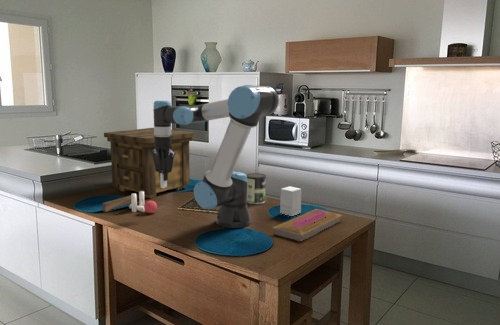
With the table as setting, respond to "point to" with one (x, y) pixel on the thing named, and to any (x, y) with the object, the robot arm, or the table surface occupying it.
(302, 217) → the pink-striped wooden board
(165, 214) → the table surface
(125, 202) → the backstop
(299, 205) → the supplement box
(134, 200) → the pin
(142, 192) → the pin
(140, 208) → the front pin
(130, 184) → the wooden drawer cabinet
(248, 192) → the coffee can
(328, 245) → the table surface
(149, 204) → the ball
